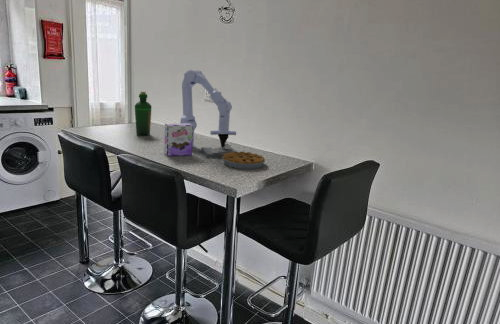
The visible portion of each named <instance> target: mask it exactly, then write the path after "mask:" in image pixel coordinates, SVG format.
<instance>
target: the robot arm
mask: <svg viewBox="0 0 500 324" xmlns="http://www.w3.org/2000/svg"><path fill="white" fill-rule="evenodd" d="M196 84H199V85H201V86H202V87H203V88H204V89H205V90H206V91H207V92H208V93H209V94H210V96H209V97H210V99H211V100H212V101H213V103H214V104H215V105H216V106H217V110H218V112H219V115H218V117H219V118H218V130H210V135H211V136H213V135H217V136H218V138H219V142H220V147H222V148H224V145H225V143H227V140H228V139H229V136H237V131H235V130H229V129H230V117H231V116H230V113H231V111H232V109H233V106H232V103H231V102H230V101H228V100H227V99H226V98H225V97H224V96H223V95H222V92H221V91H218V90H215V89H214V87H213V86H212V84H211V83H210V82H209V80H208V79H207V77H206V75H205V74H204V73H203V72H202V71H201V70H192V69H188V70H187V71H186V72H185V73H183V80H182V83H181V87H182V88H181V89H182V90H181V93H182V113H183V114H182V116H181V118H180V122H179V124H191V125H193V141H192V148H196V146H195V129H197V126H198V124H197V121H196V117H195V115H193V114H194V112H193V111H194V110H193V108H194V107H193V88H194V86H195V85H196Z"/></svg>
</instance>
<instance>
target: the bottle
mask: <svg viewBox="0 0 500 324" xmlns="http://www.w3.org/2000/svg"><path fill="white" fill-rule="evenodd" d="M138 98H139V101H137V102H136V103H135V105H134V117H135V131H136V132H135V133H136V135H138V136H141V137H142V136H143V137H146V136H149V135H150V134H151V122H152V121H151V120H152V105H151V103H150V102H148V101H147V98H148V94H147V92H146V91H140V93H139V94H138Z"/></svg>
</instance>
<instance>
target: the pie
mask: <svg viewBox="0 0 500 324" xmlns="http://www.w3.org/2000/svg"><path fill="white" fill-rule="evenodd" d="M221 159H222V160H223V162H224V165H226V166H228V167H229V166H230V168H233V167H234V168H233V169H238V168H240V169H239V170H253V169H259V168H262V167H263V166H262V165H263V164H264V163H265V161H266V159H265V157H264V156H262V155H260V154H257V153H252V152H249V151H247V152H245V151H239V152H238V151H237V152H232V153H230V152H227V153H226V154H225V153H224V154H223V156H222V158H221Z"/></svg>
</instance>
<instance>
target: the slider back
mask: <svg viewBox="0 0 500 324" xmlns="http://www.w3.org/2000/svg"><path fill="white" fill-rule="evenodd" d="M224 148H225V149H230V148H232V147H231V143H229V142H226V143H225V145H224Z"/></svg>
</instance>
